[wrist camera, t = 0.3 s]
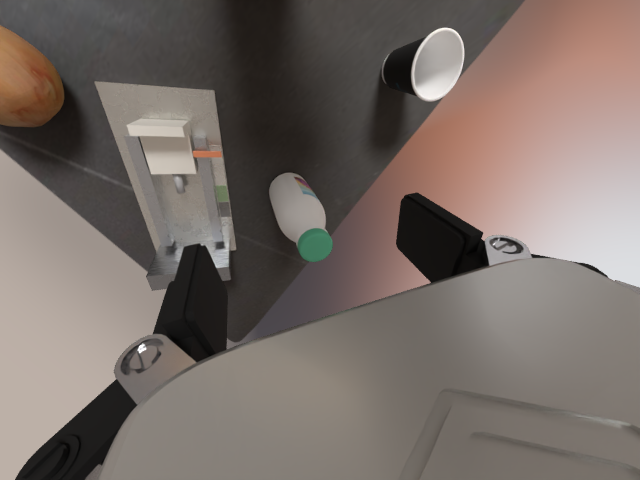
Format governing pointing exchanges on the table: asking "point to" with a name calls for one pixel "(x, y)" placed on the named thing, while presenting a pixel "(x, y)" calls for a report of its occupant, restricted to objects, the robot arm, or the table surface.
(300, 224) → the milk bottle
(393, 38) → the table surface
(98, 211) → the table surface
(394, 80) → the dixie cup
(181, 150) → the white stepped block
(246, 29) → the table surface
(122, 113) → the bench
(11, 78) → the potato
